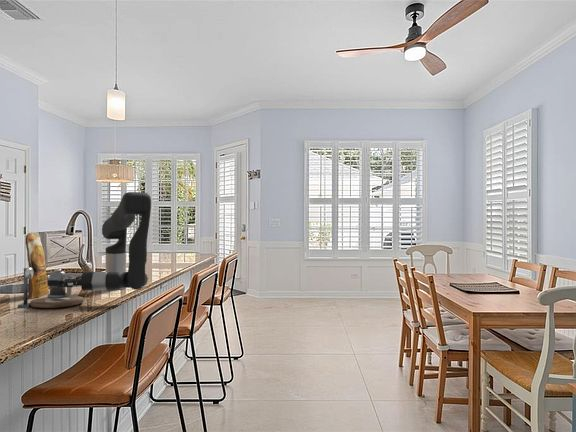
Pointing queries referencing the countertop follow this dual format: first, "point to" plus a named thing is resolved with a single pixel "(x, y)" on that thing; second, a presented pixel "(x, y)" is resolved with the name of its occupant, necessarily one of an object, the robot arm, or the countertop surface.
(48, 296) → the grey canister
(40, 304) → the disc
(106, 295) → the countertop surface
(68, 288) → the pipe connector
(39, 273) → the pancake mix bag
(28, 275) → the dial stand
